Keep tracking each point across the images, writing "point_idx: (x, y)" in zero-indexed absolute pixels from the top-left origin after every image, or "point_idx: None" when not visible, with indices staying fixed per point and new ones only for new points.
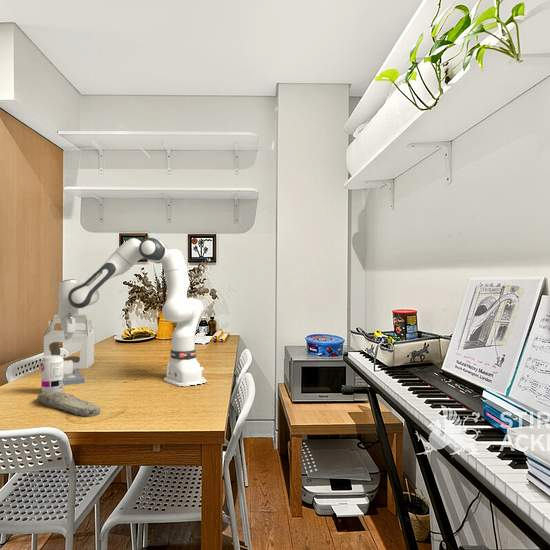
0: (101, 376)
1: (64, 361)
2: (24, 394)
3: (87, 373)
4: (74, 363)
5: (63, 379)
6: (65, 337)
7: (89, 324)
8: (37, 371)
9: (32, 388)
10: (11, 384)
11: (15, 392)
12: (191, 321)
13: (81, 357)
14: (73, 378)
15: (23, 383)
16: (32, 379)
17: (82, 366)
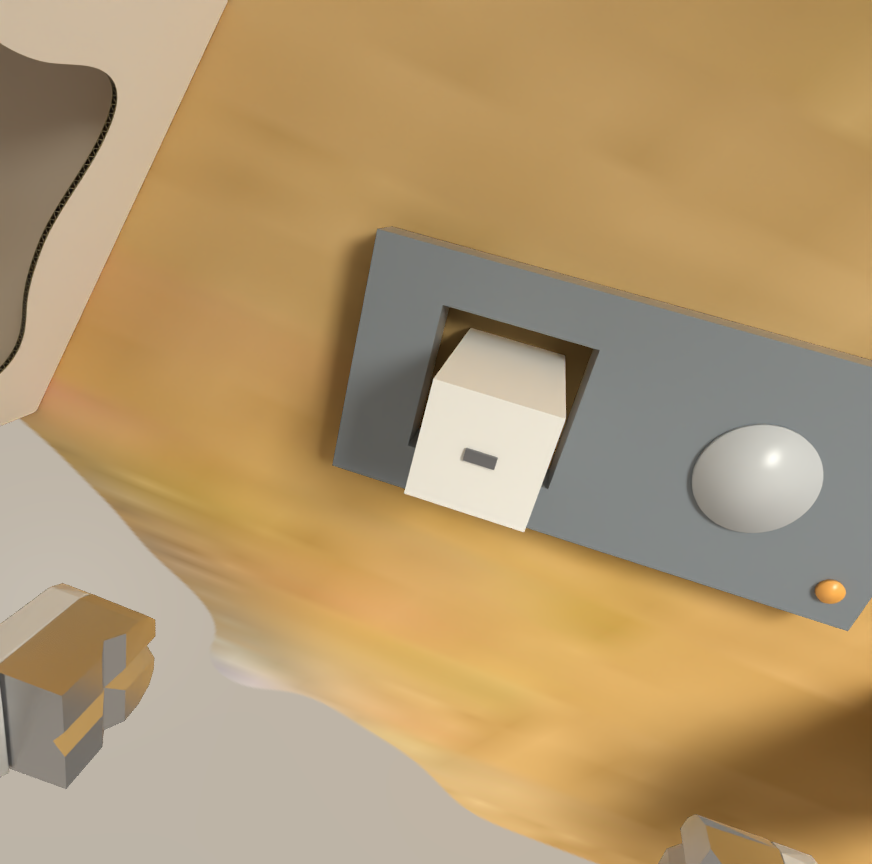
0: (864, 39)
1: (455, 492)
2: (836, 857)
3: (517, 129)
4: (110, 147)
5: (828, 592)
6: (97, 739)
7: None
8: (99, 482)
9: (700, 756)
10: (441, 771)
11: None
12: None
13: (80, 35)
14: (869, 494)
15: (473, 720)
16: (383, 630)
17: (185, 54)
